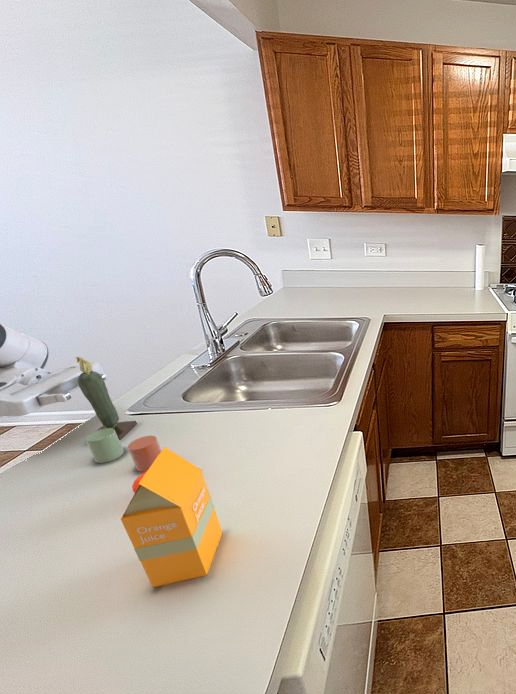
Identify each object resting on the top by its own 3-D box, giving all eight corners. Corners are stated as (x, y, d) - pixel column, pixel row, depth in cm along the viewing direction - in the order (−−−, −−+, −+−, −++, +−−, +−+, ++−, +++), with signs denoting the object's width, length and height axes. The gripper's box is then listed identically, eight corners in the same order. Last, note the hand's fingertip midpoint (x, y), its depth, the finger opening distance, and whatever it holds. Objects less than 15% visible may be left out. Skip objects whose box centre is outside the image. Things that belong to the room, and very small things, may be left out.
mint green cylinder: (89, 464, 89) (79, 442, 87) (104, 450, 93) (95, 429, 91) (115, 461, 90) (105, 439, 87) (128, 448, 94) (119, 426, 92)
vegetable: (125, 427, 100) (96, 356, 92) (104, 436, 97) (71, 363, 89) (118, 422, 102) (89, 352, 94) (97, 430, 99) (64, 358, 91)
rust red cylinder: (131, 473, 86) (122, 450, 84) (144, 458, 91) (136, 436, 88) (157, 470, 87) (148, 448, 85) (169, 455, 92) (161, 434, 89)
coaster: (87, 443, 96) (85, 439, 96) (106, 426, 102) (105, 423, 102) (120, 439, 97) (118, 436, 97) (137, 423, 104) (135, 420, 103)
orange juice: (151, 588, 62) (104, 489, 54) (174, 542, 70) (136, 450, 62) (208, 575, 64) (170, 478, 56) (224, 532, 72) (193, 441, 64)
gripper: (76, 377, 105) (127, 378, 105) (-14, 421, 86) (49, 422, 86) (66, 356, 103) (119, 356, 103) (-28, 396, 84) (36, 396, 84)
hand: (86, 386), depth 94 cm, fingers open, 8 cm apart
